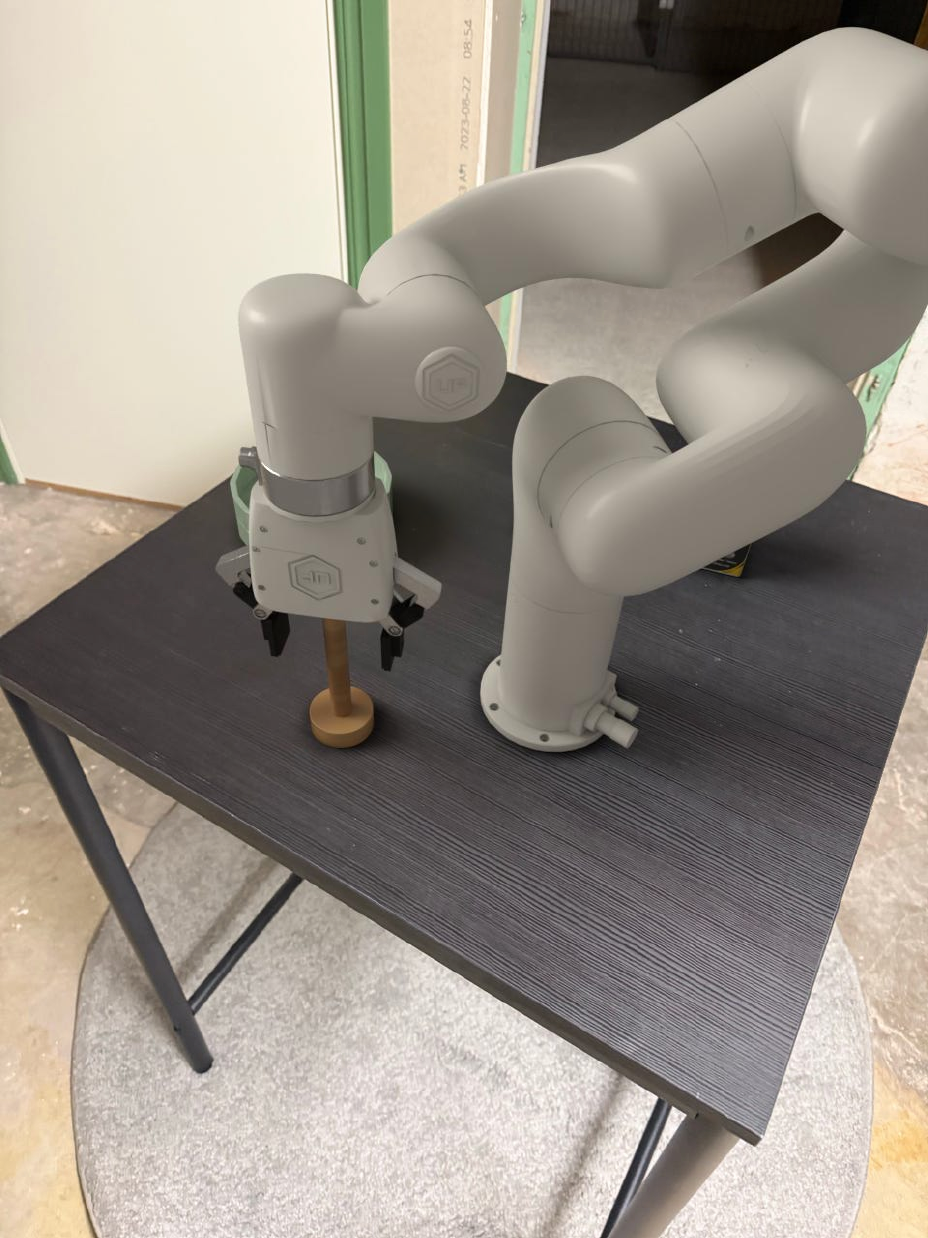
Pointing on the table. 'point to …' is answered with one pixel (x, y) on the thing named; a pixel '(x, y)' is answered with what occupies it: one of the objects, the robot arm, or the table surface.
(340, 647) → the wooden mushroom stand
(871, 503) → the table surface
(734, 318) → the robot arm
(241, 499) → the bowl
